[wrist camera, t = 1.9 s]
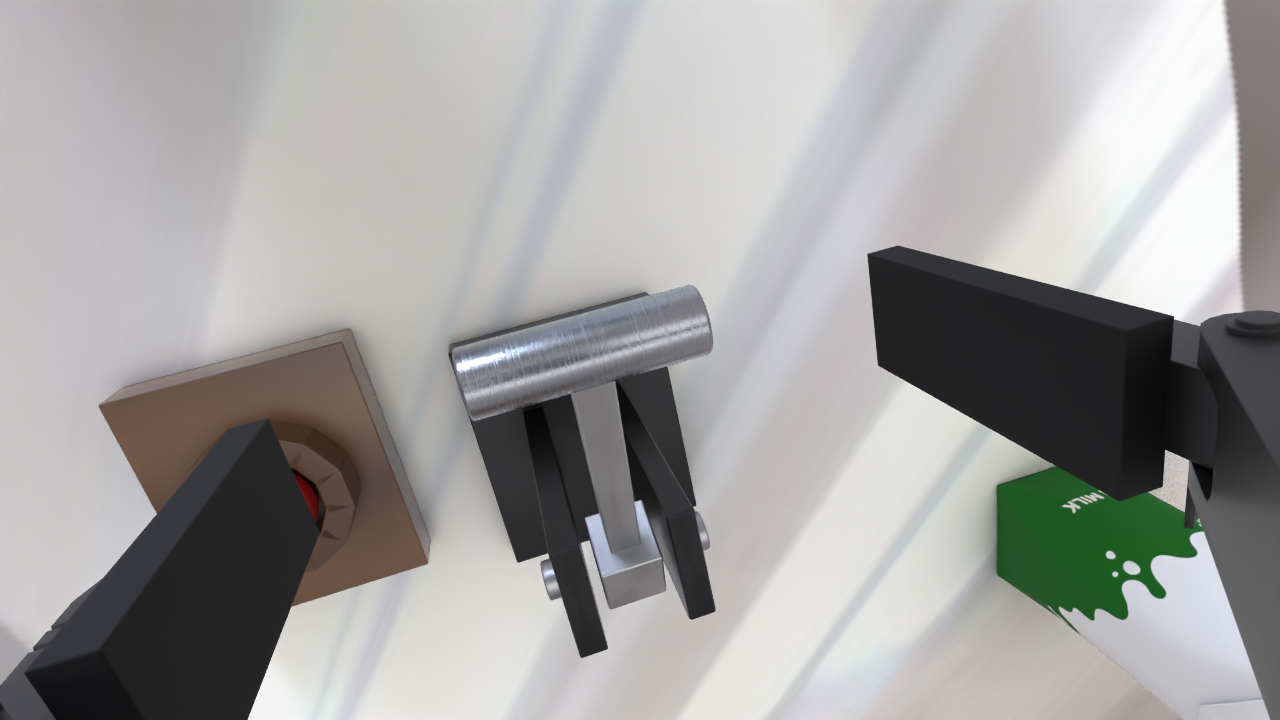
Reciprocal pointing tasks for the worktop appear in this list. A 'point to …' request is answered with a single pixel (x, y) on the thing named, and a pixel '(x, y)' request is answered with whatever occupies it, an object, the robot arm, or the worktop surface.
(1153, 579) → the milk carton
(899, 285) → the robot arm
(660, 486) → the black lever stand
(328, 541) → the button box
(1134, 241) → the worktop surface
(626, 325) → the tap lever
